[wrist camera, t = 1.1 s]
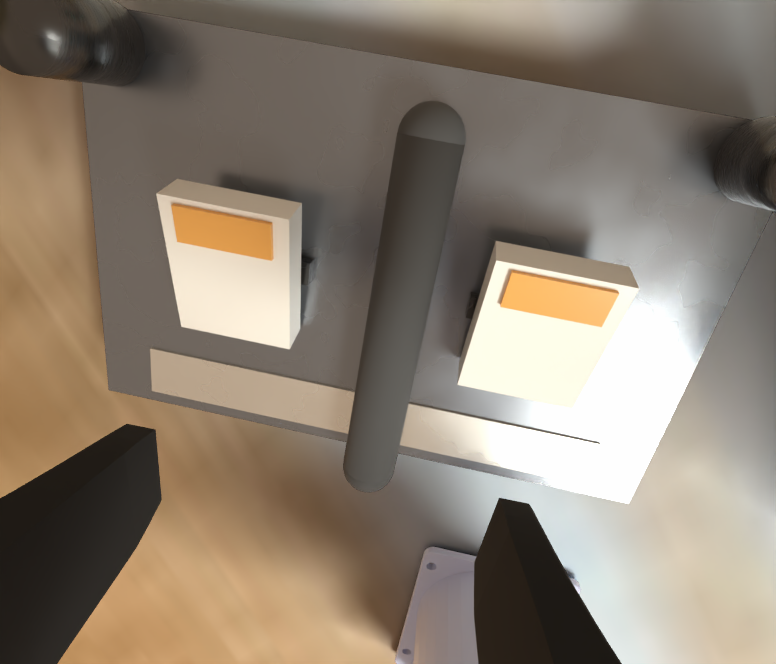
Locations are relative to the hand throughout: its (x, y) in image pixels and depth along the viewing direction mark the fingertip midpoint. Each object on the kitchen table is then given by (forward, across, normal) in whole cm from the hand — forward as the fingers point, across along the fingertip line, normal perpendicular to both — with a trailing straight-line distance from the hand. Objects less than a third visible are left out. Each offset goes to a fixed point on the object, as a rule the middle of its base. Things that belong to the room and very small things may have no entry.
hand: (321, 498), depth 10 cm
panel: (+11, 0, -1) cm, 11 cm away
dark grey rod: (+8, -1, 0) cm, 8 cm away
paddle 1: (+7, +5, -2) cm, 9 cm away
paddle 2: (+7, -5, -2) cm, 9 cm away
